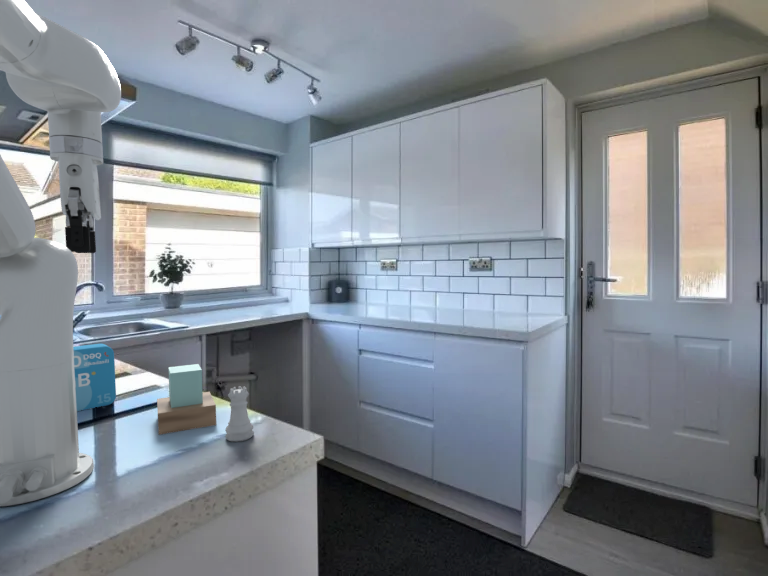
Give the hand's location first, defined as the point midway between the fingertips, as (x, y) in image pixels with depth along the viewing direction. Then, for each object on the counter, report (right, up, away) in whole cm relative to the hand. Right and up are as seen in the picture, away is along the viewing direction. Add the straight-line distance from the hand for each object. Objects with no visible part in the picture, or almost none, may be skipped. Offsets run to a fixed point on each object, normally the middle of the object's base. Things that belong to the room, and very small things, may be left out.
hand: (82, 252), depth 77 cm
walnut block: (+17, -31, +2) cm, 35 cm away
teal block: (+17, -27, +2) cm, 32 cm away
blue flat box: (-8, -30, +10) cm, 33 cm away
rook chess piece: (+29, -31, -5) cm, 43 cm away
